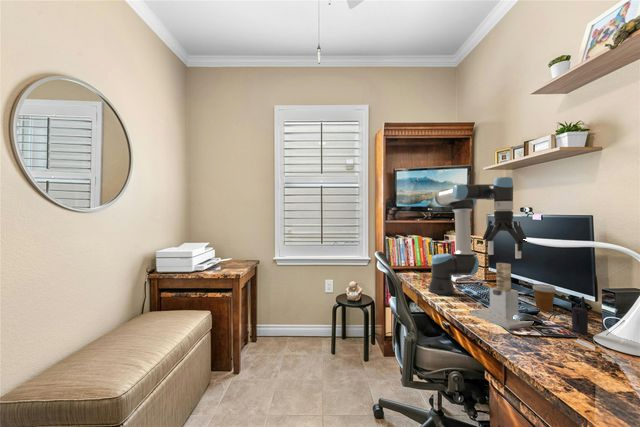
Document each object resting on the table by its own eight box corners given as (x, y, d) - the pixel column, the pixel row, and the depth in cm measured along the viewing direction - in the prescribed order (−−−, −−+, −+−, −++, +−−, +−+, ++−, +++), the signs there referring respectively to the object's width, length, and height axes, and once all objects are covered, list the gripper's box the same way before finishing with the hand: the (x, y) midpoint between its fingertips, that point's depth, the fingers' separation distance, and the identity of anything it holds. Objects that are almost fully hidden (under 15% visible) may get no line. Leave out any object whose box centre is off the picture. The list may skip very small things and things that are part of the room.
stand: (469, 314, 141) (469, 286, 141) (499, 309, 147) (499, 282, 147) (508, 329, 122) (508, 297, 122) (541, 323, 129) (540, 292, 129)
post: (495, 314, 136) (495, 263, 136) (502, 313, 137) (502, 262, 137) (504, 317, 132) (504, 264, 132) (511, 316, 133) (511, 264, 133)
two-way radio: (590, 334, 116) (590, 297, 116) (580, 335, 116) (580, 297, 116) (576, 329, 122) (576, 293, 122) (567, 329, 121) (567, 294, 121)
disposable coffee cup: (528, 308, 149) (528, 284, 149) (539, 305, 153) (539, 282, 153) (549, 313, 141) (549, 289, 141) (560, 311, 145) (560, 287, 145)
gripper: (474, 211, 145) (475, 253, 145) (524, 210, 122) (525, 260, 121) (485, 211, 148) (486, 252, 147) (537, 210, 124) (537, 259, 124)
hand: (503, 256), depth 134 cm, fingers open, 13 cm apart
